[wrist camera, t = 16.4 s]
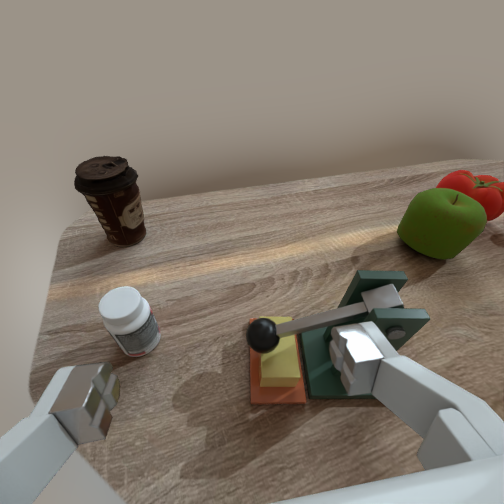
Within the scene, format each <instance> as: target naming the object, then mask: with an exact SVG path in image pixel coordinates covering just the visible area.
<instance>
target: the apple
mask: <svg viewBox="0 0 504 504" xmlns="http://www.w3.org/2000/svg"><path fill="white" fill-rule="evenodd" d="M486 223H487V215H486V212H485V210H484V207H483V206H482V205H481V204H480V203H479V202H477V201H476V200H474V199H472V198H471V197H469V196H467V195H465V194H463V193H461V192H458V191H455V190H453V189H447V188H433V189H429V190H426V191H423V192H420V193H418V194H417V195H416V196H415V197H414V199H413V200H412V201H411V202H410V204H409V206H408V208H407V210H406V213H405V215H404V216H403V218H402V220H401V222H400V224H399V226H398V229H397V233H398V235H399V237H400V238H401V239H402V240H403V241H404V242H405V243H406V244H407V245H409V246H410V247H411V248H412V249H414V250H416V251H418V252H419V253H422V254H424V255H427V256H429V257H433V258H438V259H443V260H444V259H451V258H454V257H455V256H456V255H457V254H459V253H460V252H461V251H462V250H463V249H464V248H466V247H467V246H468V245H469V244H470V243H471V242H472V241H473V240H474V239H475V238H476V237H477V236H479V235H480V234H481V233H482V232H483V230H484V228H485V225H486Z"/></svg>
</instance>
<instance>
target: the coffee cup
mask: <svg viewBox="0 0 504 504" xmlns="http://www.w3.org/2000/svg"><path fill="white" fill-rule="evenodd" d="M75 173H76V175H77V176H76V178H75V181H74V182H75V183H74V185H75V189H76V190H77V191H78V192H80V193H82V194H83V195H84V196H85V198H86V200H87V202H88V204H89V205H90V206H91V208H92V209H93V211H94V212H95V214H96V216H97V217H98V220H99V222H100V223H101V225H102V228H103V229H104V230H105V233H106V235H107V239H108V240H109V241H110V242H111V243H112V244H114V245H116V246H122V247H124V246H131V245H134V244H136V243H138V242H140V241H141V240H142V239H143V238H144V236H145V235H146V228H145V226H144V214H143V209H142V204H141V197H140V192H139V188H138V186H137V184H136V180H137V177H138V175H137V173H136V171H135V170H134V169H132V168H131V167H129V166H128V162H127V160H126V159H125V158H121V157H110V156H103V157H95V158H92V159H89V160H87V161H84V162H83V163H81V164H79V166H78V167H77V168H76V172H75Z"/></svg>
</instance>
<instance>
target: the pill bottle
mask: <svg viewBox="0 0 504 504" xmlns="http://www.w3.org/2000/svg"><path fill="white" fill-rule="evenodd" d="M98 308H99V312H100V314H101V316H102V318H103V322H104V326H105V328H106V329H107V331H108V332H109V333H110V334H111V336H112V337H113V338H114V340H115V341H116V342H117V344H118V345H119V347H120V348H121V349H122V351H123V352H124V353H125V354H127V355H129V356H132V357H139V356H143V355H145V354H147V353H149V352H150V351H152V350H153V349H154V348H155V347H156V345H157V344H158V342H159V340H160V329H159V326H158V324H157V322H156V319H155V317H154V315H153V313H152V310H151V308H150V305H149V304H148V302H147V301H146V300H145V299H144V298H142V297H141V295H140V293H139V292H138V291H137V290H136V289H135V288H132V287H128V286H123V287H118V288H115V289H113V290H111V291H109V292H108V293H107V294H105V295H104V296H103V298H102V299H101V301H100V303H99V307H98Z"/></svg>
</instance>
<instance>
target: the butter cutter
mask: <svg viewBox="0 0 504 504" xmlns="http://www.w3.org/2000/svg"><path fill="white" fill-rule="evenodd" d="M407 280H408V278H407V277H406V275H405V273H404V271H366V270H357V272H356V274H355V276H354V278H353V280H352V282H351V283H350V285H349V287H348V289H347V291H346V293H345V295H344V297H343V298H342V300H341V302H340V304H339V306H338V308H341V307H344V306H348V305H352V304H356V303H359V302H363V301H364V300H363V297H362V295H361V292H364V291H368V290H371V289H375V288H378V287H382V286H386V285H389V284H393V285H394V287H395V289H396V291H397V293H398V292H399V291H400V289H401V288H402V287H403V285H404V284H405V283H406V282H407ZM429 320H430V317H429V315H428V314H427V312H426V310H425V309H402V308H373V309H372V310H371V312H370V313H369V314H368V316H367V317H364V318H360V319H356V320H352V321H348V322H344V323H340V324H336V325H332V326H328V327H324V328H319V329H315V330H311V331H307V332H303V333H299V338H300V344H301V350H302V357H303V363H304V369H305V376H306V382H307V388H308V395H309V399H377V398H375V397H374V396H373V395H372V393H367V394H360V395H353V396H348V394H347V392H346V390H345V388H344V386H343V384H342V382H341V379H340V377H341V372H340V371H339V370H337V369H336V368H335V367H334V365H333V363H332V360H331V357H330V351H329V345H330V342H331V341H332V340H333V338H332V336H331V330H332V328H333V327H337V326H343V325H349V324H356V323H363V322H370V321H372V322H373V323H375V325H376V326H377V327H378V328H379V330H380V331H381V332H382V334H383V335H384V336H385V337H386V339H387V340H388V341H389V343H390V344H391V345H392V346H393V348H394V349H395V350H396V351H397V350H398V349H399V348H400V347H402V346H403V345H404V344H405V343H406V342H407V341H408V340H409V339H410V338H411V337H412V336H413V335H414V334H415V333H416V332H418V331H419V330H420V329H421V328H422V327H423V326H424V325H425V324H426V323H427V322H428V321H429Z"/></svg>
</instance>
